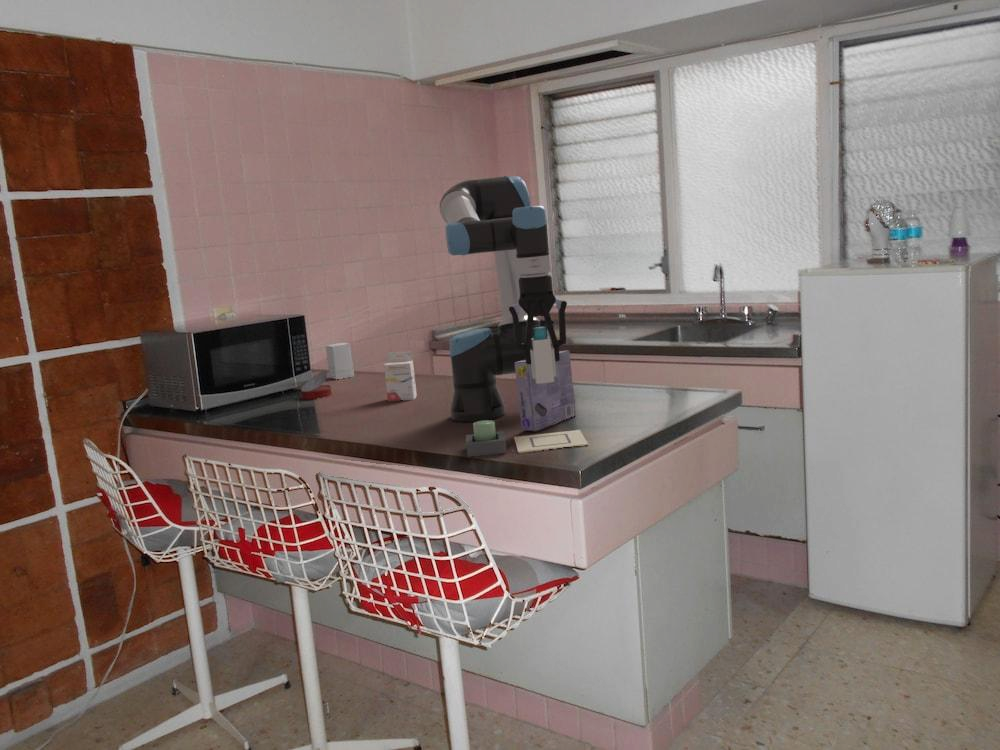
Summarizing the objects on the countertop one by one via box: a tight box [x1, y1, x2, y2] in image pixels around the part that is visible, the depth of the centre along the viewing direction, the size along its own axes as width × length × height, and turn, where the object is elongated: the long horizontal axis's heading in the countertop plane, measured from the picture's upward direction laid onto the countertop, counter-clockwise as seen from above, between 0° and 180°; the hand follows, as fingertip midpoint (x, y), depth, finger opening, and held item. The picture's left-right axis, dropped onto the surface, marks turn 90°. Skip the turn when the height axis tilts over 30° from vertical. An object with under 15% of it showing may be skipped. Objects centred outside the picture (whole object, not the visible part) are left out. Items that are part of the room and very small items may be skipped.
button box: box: [465, 430, 508, 458], centre depth 207 cm, size 9×9×3 cm
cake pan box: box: [515, 349, 577, 433], centre depth 226 cm, size 19×5×18 cm, turn 141°
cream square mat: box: [513, 429, 589, 454], centre depth 209 cm, size 14×16×1 cm
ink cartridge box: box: [383, 350, 417, 402], centre depth 279 cm, size 9×5×15 cm, turn 84°
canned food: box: [300, 370, 333, 400], centre depth 299 cm, size 11×10×10 cm
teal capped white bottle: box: [531, 326, 554, 384], centre depth 205 cm, size 4×4×12 cm
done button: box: [472, 419, 497, 442], centre depth 207 cm, size 5×5×4 cm
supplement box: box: [325, 342, 355, 381], centre depth 333 cm, size 7×7×13 cm
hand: (544, 376), depth 206 cm, fingers closed on teal capped white bottle, 4 cm apart
